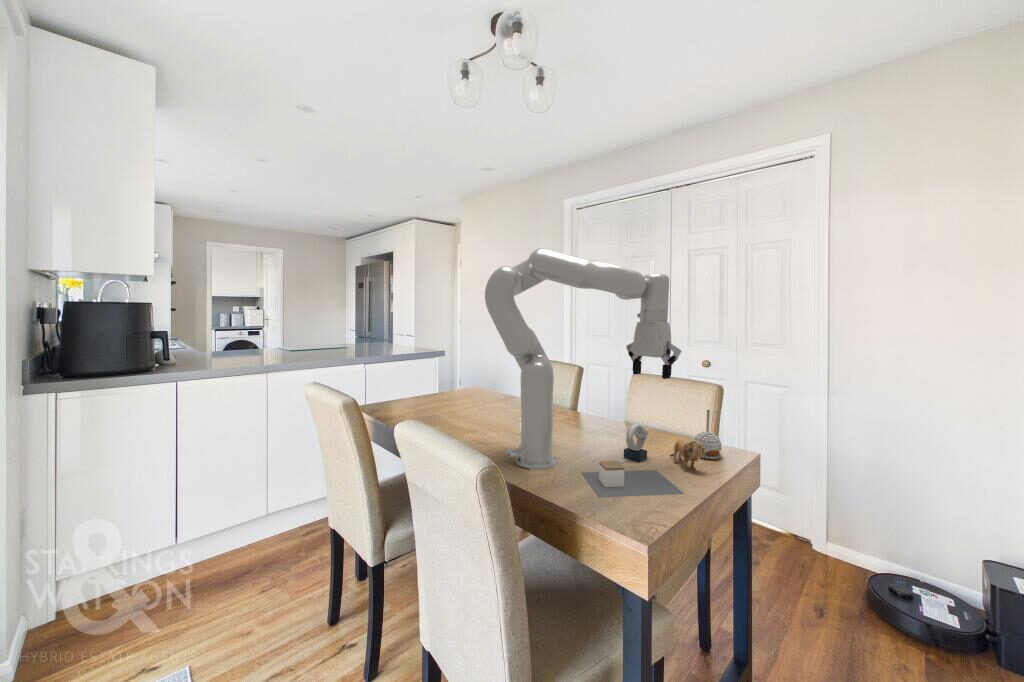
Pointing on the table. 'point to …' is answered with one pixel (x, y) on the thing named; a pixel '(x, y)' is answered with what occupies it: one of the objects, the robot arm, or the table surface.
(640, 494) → the mat
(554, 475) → the table surface
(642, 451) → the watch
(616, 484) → the block
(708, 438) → the decorative ornament
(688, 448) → the lion figurine
